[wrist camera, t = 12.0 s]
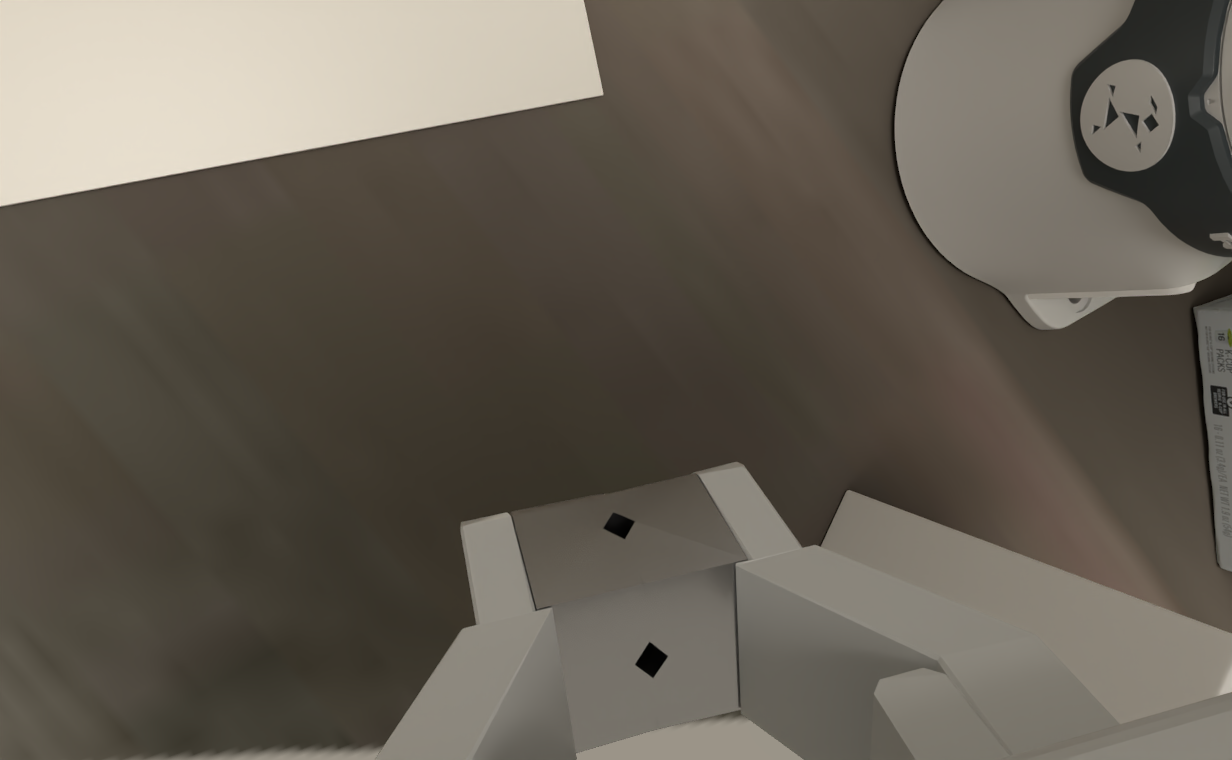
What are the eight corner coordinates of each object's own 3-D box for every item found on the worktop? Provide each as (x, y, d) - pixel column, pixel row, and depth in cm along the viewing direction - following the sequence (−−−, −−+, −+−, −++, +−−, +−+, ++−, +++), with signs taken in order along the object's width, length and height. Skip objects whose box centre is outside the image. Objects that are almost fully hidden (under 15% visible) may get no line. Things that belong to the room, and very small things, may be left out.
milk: (789, 607, 43) (1266, 923, 22) (846, 486, 43) (1369, 683, 22) (889, 651, 45) (1411, 977, 24) (942, 535, 45) (1503, 758, 24)
